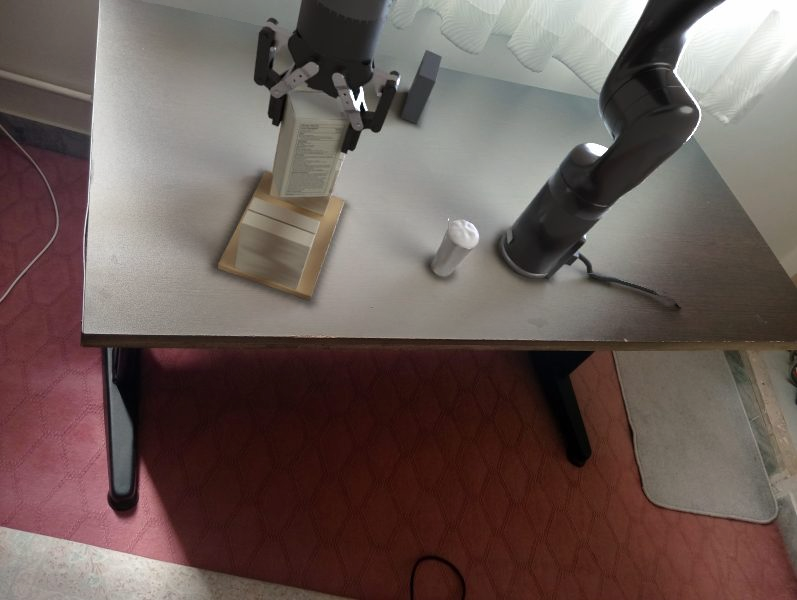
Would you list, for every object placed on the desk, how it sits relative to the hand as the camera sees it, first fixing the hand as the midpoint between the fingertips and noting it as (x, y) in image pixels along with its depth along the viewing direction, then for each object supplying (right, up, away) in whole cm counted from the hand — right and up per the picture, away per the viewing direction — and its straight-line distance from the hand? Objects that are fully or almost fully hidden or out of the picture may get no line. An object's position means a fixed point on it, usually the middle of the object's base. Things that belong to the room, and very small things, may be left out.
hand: (312, 135), depth 59 cm
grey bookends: (+5, +19, +37) cm, 42 cm away
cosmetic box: (-3, -4, +6) cm, 8 cm away
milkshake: (+15, -13, +20) cm, 29 cm away
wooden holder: (-6, -9, +14) cm, 18 cm away
